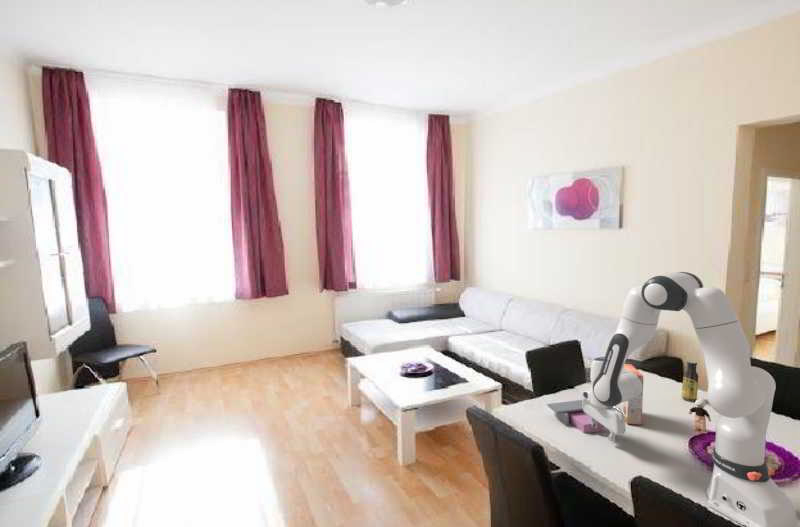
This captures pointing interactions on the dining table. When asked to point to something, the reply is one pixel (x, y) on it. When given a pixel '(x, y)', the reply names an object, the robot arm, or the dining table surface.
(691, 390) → the sauce bottle
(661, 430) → the dining table surface
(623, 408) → the cracker box
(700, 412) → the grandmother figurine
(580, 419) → the pink rectangular block
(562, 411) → the bridge dock
